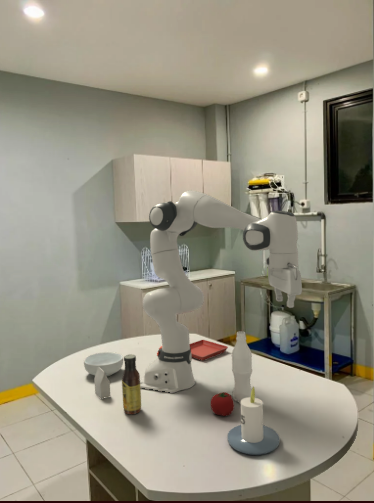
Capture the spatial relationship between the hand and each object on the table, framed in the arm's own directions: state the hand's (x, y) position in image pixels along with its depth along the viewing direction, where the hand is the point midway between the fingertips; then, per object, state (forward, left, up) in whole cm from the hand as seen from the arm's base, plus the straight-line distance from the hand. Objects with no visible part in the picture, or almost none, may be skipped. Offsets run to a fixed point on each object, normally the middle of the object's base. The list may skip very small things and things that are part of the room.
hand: (284, 304), depth 130 cm
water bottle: (-15, +8, -37) cm, 41 cm away
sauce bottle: (-52, -5, -37) cm, 64 cm away
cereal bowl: (-76, +26, -37) cm, 89 cm away
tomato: (-21, -2, -37) cm, 43 cm away
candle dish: (-10, -18, -37) cm, 42 cm away
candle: (-10, -18, -36) cm, 41 cm away
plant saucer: (-38, +56, -38) cm, 77 cm away
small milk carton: (-68, +6, -37) cm, 78 cm away
